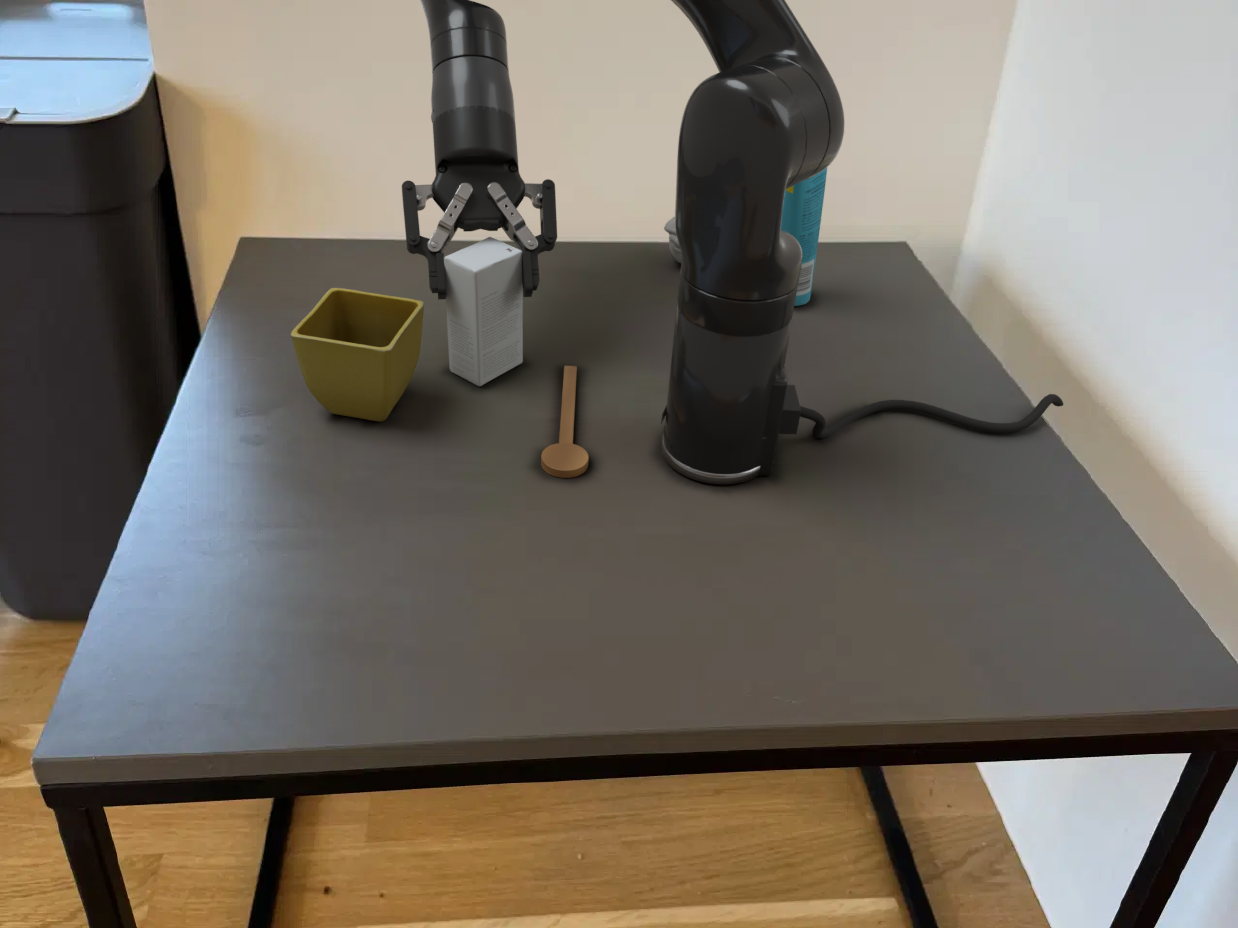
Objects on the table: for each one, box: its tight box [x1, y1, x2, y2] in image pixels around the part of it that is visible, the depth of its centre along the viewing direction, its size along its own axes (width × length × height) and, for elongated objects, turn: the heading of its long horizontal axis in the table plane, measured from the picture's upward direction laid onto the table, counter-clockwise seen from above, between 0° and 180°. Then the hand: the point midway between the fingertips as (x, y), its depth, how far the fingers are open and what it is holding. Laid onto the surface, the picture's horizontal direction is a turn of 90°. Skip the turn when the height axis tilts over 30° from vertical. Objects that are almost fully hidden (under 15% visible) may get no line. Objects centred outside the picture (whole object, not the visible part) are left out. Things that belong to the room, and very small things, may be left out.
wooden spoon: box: [540, 365, 590, 479], centre depth 99 cm, size 4×17×1 cm, turn 0°
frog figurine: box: [663, 216, 682, 264], centre depth 124 cm, size 6×7×7 cm
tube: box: [781, 167, 828, 307], centre depth 115 cm, size 7×5×19 cm, turn 152°
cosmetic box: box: [444, 236, 524, 387], centre depth 101 cm, size 6×4×12 cm
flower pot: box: [290, 287, 425, 422], centre depth 96 cm, size 9×9×9 cm
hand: (485, 295), depth 99 cm, fingers closed on cosmetic box, 7 cm apart
